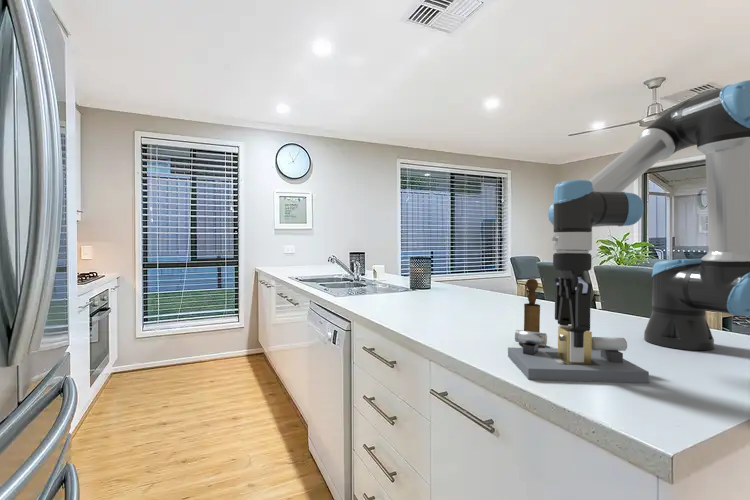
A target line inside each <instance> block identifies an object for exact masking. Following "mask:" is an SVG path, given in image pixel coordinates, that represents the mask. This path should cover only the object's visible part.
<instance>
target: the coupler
mask: <svg viewBox="0 0 750 500" xmlns="http://www.w3.org/2000/svg"><path fill="white" fill-rule="evenodd" d="M557 328H558V330H557V349H558V358H559V359H561V360H562V361H563V362H565V363H566V364H579V365H591V346H592V337H593V332H592V331H591V330H590V331H586V332H584V362H570V361H569V331H568V329H572V327H559V326H558V327H557Z"/></svg>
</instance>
